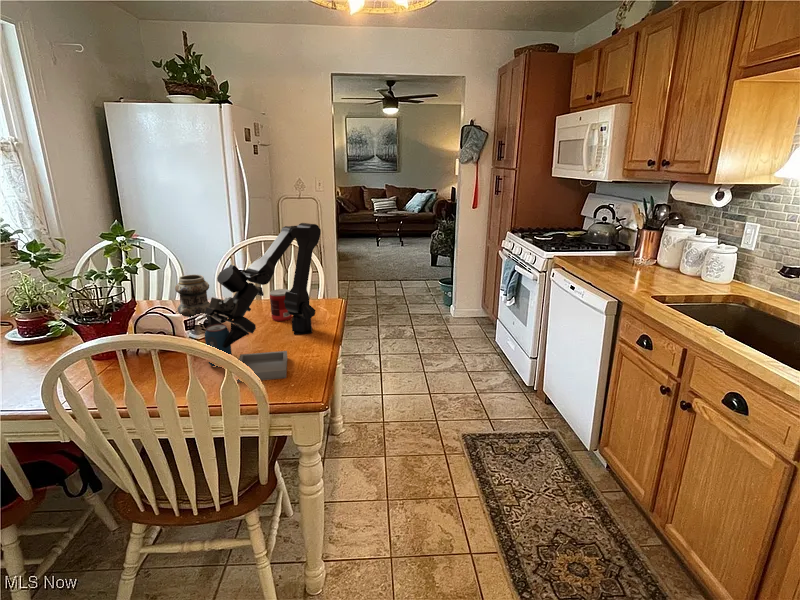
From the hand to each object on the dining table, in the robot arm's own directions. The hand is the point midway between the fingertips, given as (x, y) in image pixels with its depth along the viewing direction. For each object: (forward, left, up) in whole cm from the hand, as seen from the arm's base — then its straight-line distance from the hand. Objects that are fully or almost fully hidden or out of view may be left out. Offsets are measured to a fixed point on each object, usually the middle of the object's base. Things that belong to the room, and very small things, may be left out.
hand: (214, 343), depth 137 cm
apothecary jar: (+14, -42, -7) cm, 45 cm away
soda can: (-1, -1, -7) cm, 7 cm away
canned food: (-18, -40, -7) cm, 44 cm away
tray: (-14, +6, -7) cm, 17 cm away
